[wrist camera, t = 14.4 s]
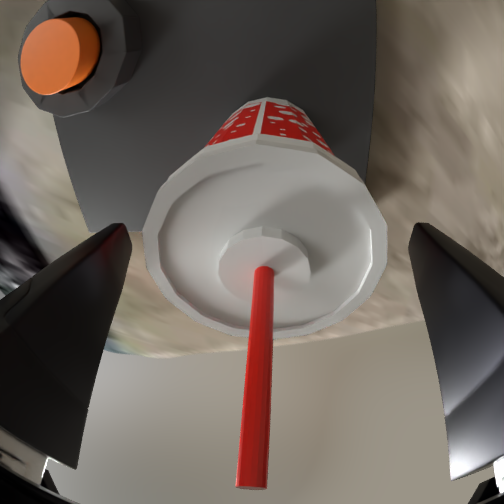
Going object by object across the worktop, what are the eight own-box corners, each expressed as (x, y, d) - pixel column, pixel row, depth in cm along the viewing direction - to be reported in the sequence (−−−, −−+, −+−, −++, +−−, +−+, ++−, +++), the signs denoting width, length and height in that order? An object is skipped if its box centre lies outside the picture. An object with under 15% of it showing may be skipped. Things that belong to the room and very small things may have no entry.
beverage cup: (215, 198, 17) (141, 485, 6) (199, 87, 13) (-44, 361, 2) (330, 195, 16) (385, 492, 5) (333, 81, 12) (565, 375, 1)
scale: (93, 223, 20) (74, 250, 17) (46, 15, 10) (13, 19, 8) (353, 219, 18) (364, 250, 16) (367, -31, 9) (387, -43, 7)
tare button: (48, 94, 11) (27, 103, 10) (38, 31, 9) (16, 36, 8) (105, 76, 11) (85, 83, 10) (97, 7, 9) (76, 6, 8)
